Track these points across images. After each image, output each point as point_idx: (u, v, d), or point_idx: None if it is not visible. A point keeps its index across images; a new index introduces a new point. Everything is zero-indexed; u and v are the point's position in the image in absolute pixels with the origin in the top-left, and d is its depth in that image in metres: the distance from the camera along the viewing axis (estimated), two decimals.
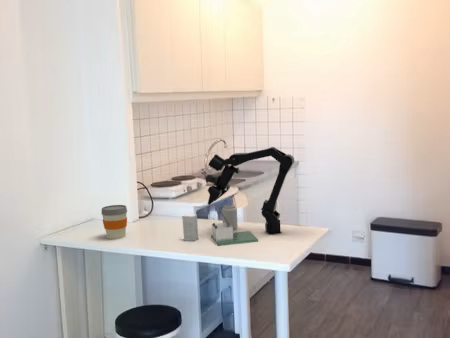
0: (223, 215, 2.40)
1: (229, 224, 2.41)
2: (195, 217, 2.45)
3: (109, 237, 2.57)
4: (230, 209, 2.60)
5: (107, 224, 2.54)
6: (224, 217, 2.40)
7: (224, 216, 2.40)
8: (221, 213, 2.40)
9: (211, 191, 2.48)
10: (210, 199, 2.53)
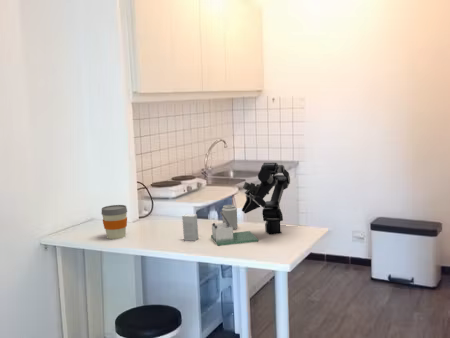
0: (223, 215, 2.40)
1: (229, 224, 2.41)
2: (195, 217, 2.45)
3: (109, 237, 2.57)
4: (230, 209, 2.60)
5: (107, 224, 2.54)
6: (224, 217, 2.40)
7: (224, 216, 2.40)
8: (221, 213, 2.40)
9: (258, 201, 2.35)
10: (249, 208, 2.41)
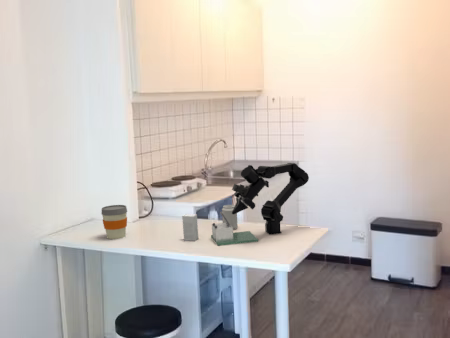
0: (223, 215, 2.40)
1: (229, 224, 2.41)
2: (195, 217, 2.45)
3: (109, 237, 2.57)
4: (230, 209, 2.60)
5: (107, 224, 2.54)
6: (224, 217, 2.40)
7: (224, 216, 2.40)
8: (221, 213, 2.40)
9: (247, 202, 2.34)
10: (237, 209, 2.41)
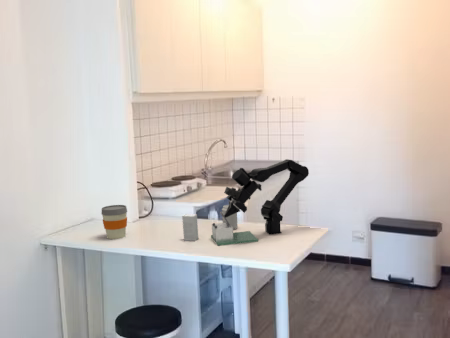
0: (223, 215, 2.40)
1: (229, 224, 2.41)
2: (195, 217, 2.45)
3: (109, 237, 2.57)
4: None
5: (107, 224, 2.54)
6: (224, 217, 2.40)
7: (224, 216, 2.40)
8: (221, 213, 2.40)
9: (239, 206, 2.33)
10: (229, 212, 2.41)
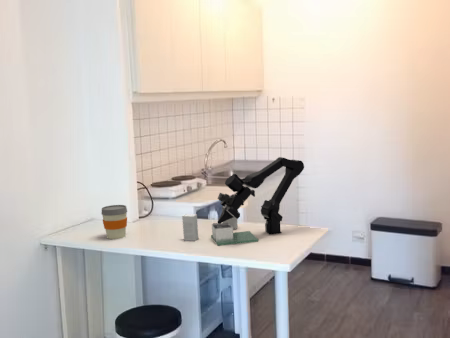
0: (217, 225, 2.40)
1: None
2: (195, 217, 2.45)
3: (109, 237, 2.57)
4: None
5: (107, 224, 2.54)
6: (219, 225, 2.40)
7: (218, 224, 2.40)
8: (214, 225, 2.40)
9: (232, 212, 2.33)
10: (222, 218, 2.41)
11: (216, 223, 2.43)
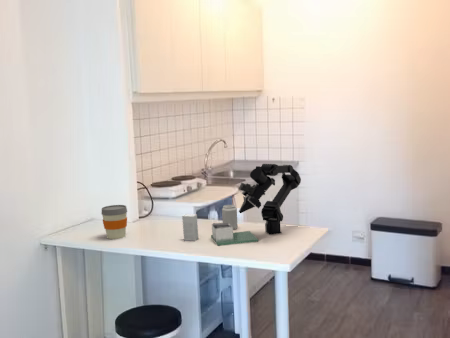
0: (217, 225, 2.40)
1: None
2: (195, 217, 2.45)
3: (109, 237, 2.57)
4: (230, 209, 2.60)
5: (107, 224, 2.54)
6: (219, 225, 2.40)
7: (218, 224, 2.40)
8: (214, 225, 2.40)
9: (253, 201, 2.35)
10: (244, 207, 2.43)
11: (216, 223, 2.43)
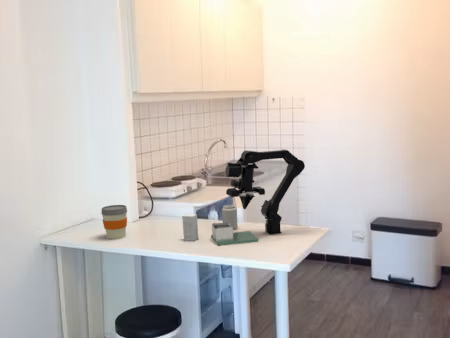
0: (217, 225, 2.40)
1: None
2: (195, 217, 2.45)
3: (109, 237, 2.57)
4: (230, 209, 2.60)
5: (107, 224, 2.54)
6: (219, 225, 2.40)
7: (218, 224, 2.40)
8: (214, 225, 2.40)
9: (227, 193, 2.43)
10: (242, 202, 2.48)
11: (216, 223, 2.43)
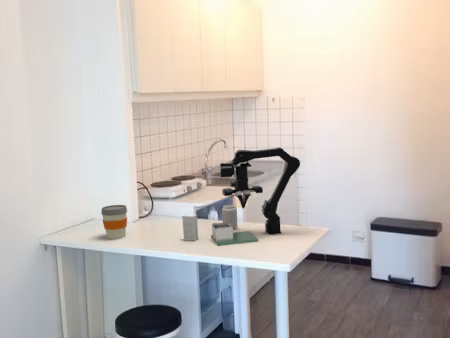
0: (217, 225, 2.40)
1: None
2: (195, 217, 2.45)
3: (109, 237, 2.57)
4: (230, 209, 2.60)
5: (107, 224, 2.54)
6: (219, 225, 2.40)
7: (218, 224, 2.40)
8: (214, 225, 2.40)
9: (223, 193, 2.48)
10: (240, 202, 2.50)
11: (216, 223, 2.43)
